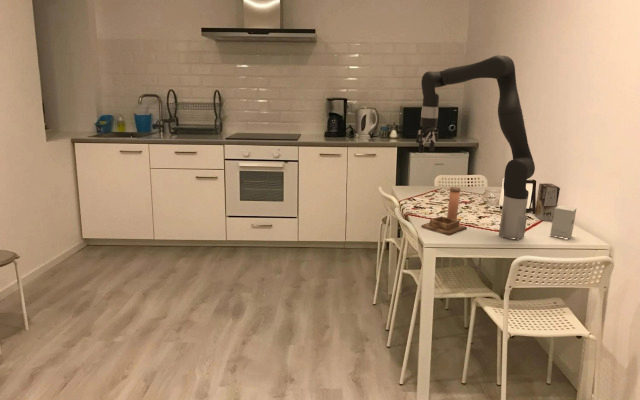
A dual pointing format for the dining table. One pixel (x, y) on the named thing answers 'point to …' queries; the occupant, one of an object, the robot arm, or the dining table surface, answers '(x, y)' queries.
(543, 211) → the coffee box
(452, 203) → the wooden peg
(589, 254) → the dining table surface
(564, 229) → the supplement box
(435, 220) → the walnut socket board
